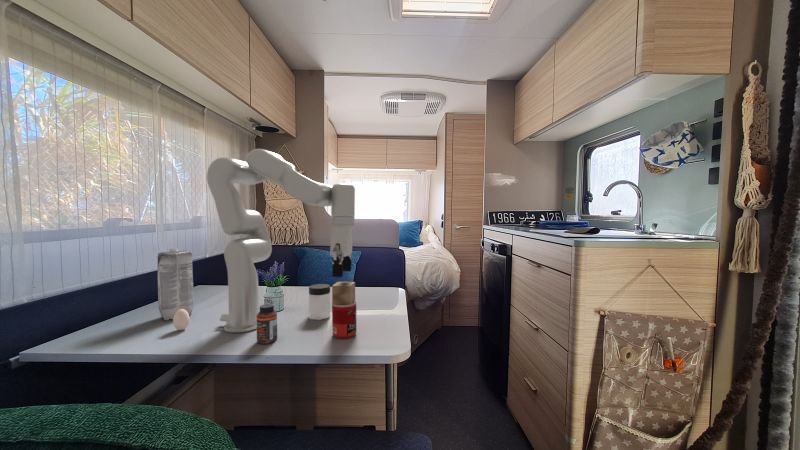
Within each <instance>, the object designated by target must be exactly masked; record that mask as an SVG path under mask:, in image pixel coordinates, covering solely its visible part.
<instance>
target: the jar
mask: <svg viewBox="0 0 800 450" xmlns="http://www.w3.org/2000/svg"><path fill="white" fill-rule="evenodd" d="M308 311H309V313H308V314H309V315H308V316H309V317H308V319H309V320H314V321H315V320H316V321H321V320H325V319H329V318H331V285H330V284H328V283H318V284H316V283H315V284H311V285H310V286H308Z"/></svg>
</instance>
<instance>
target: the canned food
mask: <svg viewBox="0 0 800 450" xmlns="http://www.w3.org/2000/svg"><path fill="white" fill-rule="evenodd" d="M331 318H332V319H331V321H332V322H331V324H332V336H333V337H334V338H336V339H337V340H347V339H351V338H353V337H355V336H356V334H357V301H356V299H355V300H354V302H353V303H352V304H351V305H340V304H332V303H331Z"/></svg>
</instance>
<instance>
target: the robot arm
mask: <svg viewBox="0 0 800 450" xmlns="http://www.w3.org/2000/svg"><path fill="white" fill-rule="evenodd" d="M245 158H246V161H244V160H240V159H238V158H232V157H225V156H224V157H219V158H218V157H217V158H215V159H214V160H213V161H212V162H211V163H210V164H209V166H208V169H207V172H206V173H207V174H206V180H207V184H208V188H209V190H210V193H211V195H212V198H213V201H214V203H215V208H216V212H217V215H218V220H219V223H220V225H221V226H220V227H221V228H222V230H223V233H225V234H226V235H228V236H245V237H243V238H236V239H234V240H231V241H230V242H228V243H227V244H226V246H225V248H224V251H223V256H224V257H223V258H224V261H225V266H226V271H227V286H228V290H227V293H228V296H227V297H228V313H222V314H221V316H220V318H219V321H220V322H225V325H223V326H224V327H223V330H224V332H226V333H233V334H234V333H235V334H237V333H238V334H239V333H246V332H251V331H255V330H257V314H258V313H259V312H260V303H259V300H260V298H259V296H260V295H259V274H258V271H257V269H256V266H255V263H259V262H263V261H266V260H268V259H269V258H270V256H271V254H272V251H273V248H272V247H273V246H272V242H271V239H270V236H269V235H270V234H269V232H268V231H269V230H268V228H267V224H266V221H265V219H264V217H263V215H262V214H261V213H260V212H259V211H257V210H254V209H246V207H245V206H244V203H243V198H242V195H241V194H240V192H239V191H238V190H237V188H236V187H235V185H234V184H240V185H244V186H245V185H247V186H252V185H253V186H254V185H257V184H260V183H263V182H267V181H271V182H273V183H274V184H275V185H277V186H279V187H280V188H281V189H282V190H283V191H284V192H285V193H287V194H288V195H289V196H290V197H293V198H294V199H296V200H298V201H300V202H302V203H304V204H306V205H309V206H315V207H316V206H317V207H331V208H330V209H331V211H330V217H331V218H330V226H331V231H330V232H331V234H330V247H329V256H330V257H331V259H332V262H331V264H332V265H331V266H332V267H331V268H332V270H331V271H332V273H331V276H332V278H333V277H334V278H342V277H343V276H344V275H343V274H344V272H351V271H352V253H353V228H354V227H355V213H356V212H355V209H356V208H355V205H356V204H355V202H356V200H355V198H356V197H355V196H356V193H355V192H356V188H355V186H354V185H353V184H349V183H334V184H333V185H331V184H327V183H326V184H325V183H323V182H317V181H315V180H312V179H310V178H309V177H308V176H307V177H306V176H305V175H304V174H301V173H299V172H298V170H297V168H296V166H295V165H294V164H293V163H292V162H288V161H286V160H285V159H284V158H283V156H282V155H280V154H279V153H277V152H276V153H275V152H273V151H270V150H267V149H263V148H255V149H252V150H251V151H249V152H248V153H247V155H246V157H245Z"/></svg>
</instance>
